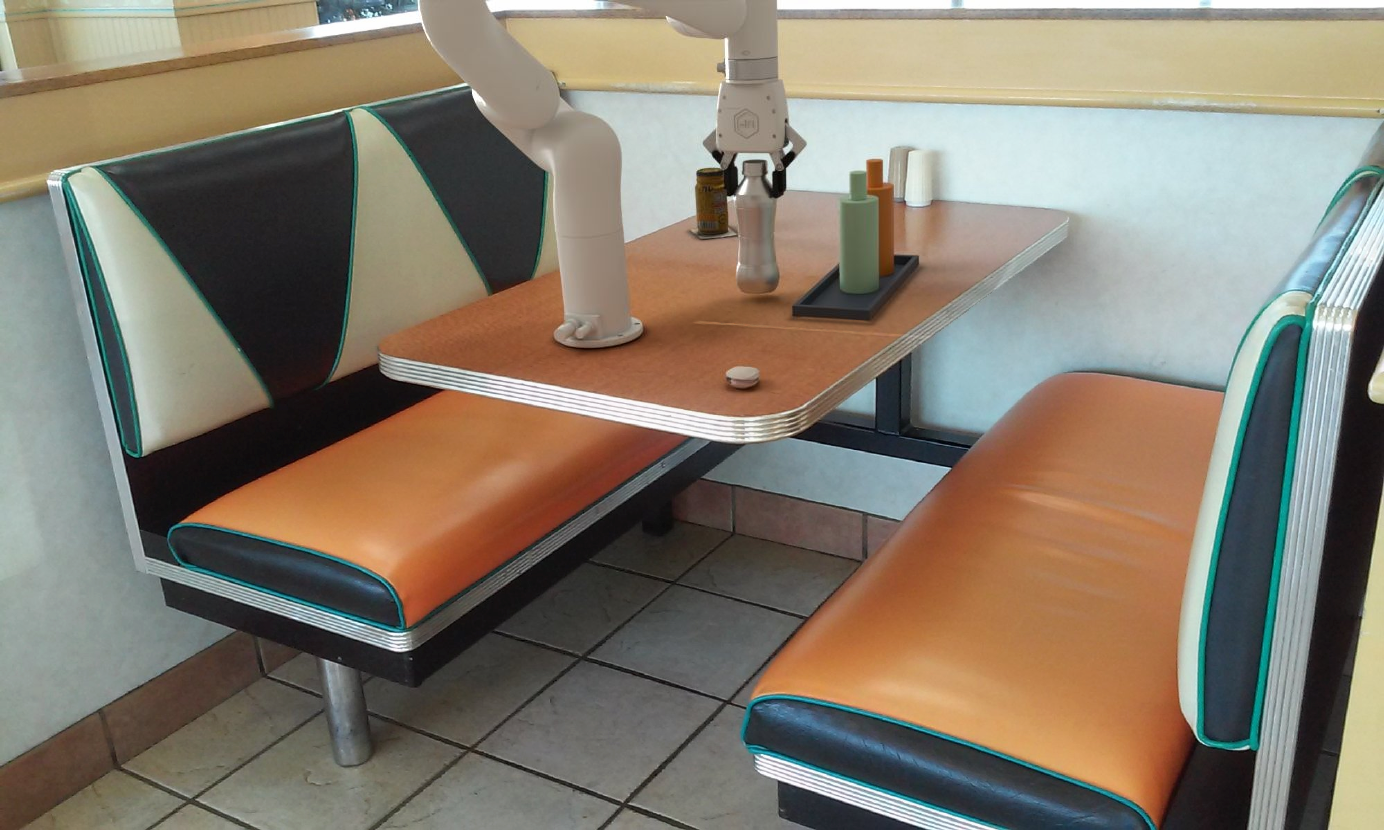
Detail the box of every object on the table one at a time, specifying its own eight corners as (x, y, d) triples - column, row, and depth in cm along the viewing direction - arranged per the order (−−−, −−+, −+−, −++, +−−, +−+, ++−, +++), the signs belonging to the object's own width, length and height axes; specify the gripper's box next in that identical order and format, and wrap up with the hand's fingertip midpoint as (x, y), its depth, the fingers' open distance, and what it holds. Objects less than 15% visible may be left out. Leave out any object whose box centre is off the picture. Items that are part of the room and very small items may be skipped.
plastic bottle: (777, 299, 176) (775, 165, 168) (732, 298, 177) (728, 165, 170) (782, 287, 182) (781, 157, 174) (739, 286, 183) (736, 157, 176)
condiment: (726, 226, 229) (723, 165, 225) (737, 235, 221) (734, 172, 217) (690, 230, 228) (686, 169, 223) (700, 240, 220) (695, 176, 216)
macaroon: (720, 387, 148) (718, 368, 147) (744, 375, 151) (743, 357, 150) (746, 394, 145) (745, 375, 144) (771, 381, 148) (770, 363, 147)
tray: (869, 324, 167) (869, 310, 166) (792, 319, 171) (791, 305, 171) (919, 267, 193) (919, 255, 192) (850, 264, 197) (850, 252, 196)
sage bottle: (873, 294, 178) (872, 176, 171) (835, 292, 181) (832, 176, 174) (883, 284, 183) (882, 168, 176) (846, 282, 186) (844, 168, 179)
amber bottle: (888, 277, 186) (888, 164, 179) (852, 276, 189) (850, 163, 182) (898, 267, 191) (898, 157, 184) (862, 266, 194) (861, 156, 187)
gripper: (685, 74, 168) (691, 198, 174) (801, 73, 161) (803, 203, 167) (706, 68, 174) (710, 189, 180) (818, 67, 167) (818, 192, 174)
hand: (755, 194), depth 174 cm, fingers closed on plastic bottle, 6 cm apart
